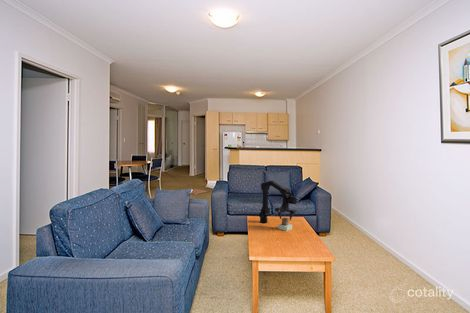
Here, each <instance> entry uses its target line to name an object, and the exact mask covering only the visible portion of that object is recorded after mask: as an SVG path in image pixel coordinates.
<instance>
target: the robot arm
mask: <svg viewBox="0 0 470 313" xmlns="http://www.w3.org/2000/svg"><path fill="white" fill-rule="evenodd" d="M260 187H261V188H260V189H261V191H262V206H261V209H260V212H259V213H258V217H259V223H260V224H267V223H268V217H269V214H270V213H271V207H269V202H268V201H269V190H270V187H272V188H274V189H276V190H277V191H279V192H280V194H281V195H280V197H281V200H282V202H281V205H280V206H277V207H275V208H274V211H275V212H276V213H277V214H278V216H279V219H280V220H282V214H283V213H286V212H288V213H289V221H292V218H293V216H294V215H295V214H296V213H297V210H296V209H290V207H289V206H290V204H291V205H297V203H298V200H297V198H296V196H293V193H291V190H290V189H289V188H288V187H284V186H282V185H280V184H279V183H277V182H276V181H274V180H268V181H266V182H262V183H260Z"/></svg>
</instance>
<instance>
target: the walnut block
mask: <svg viewBox="0 0 470 313" xmlns="http://www.w3.org/2000/svg"><path fill="white" fill-rule="evenodd" d="M289 221H290V217H289V218H288V217H285V216H284V217H281V224H282V225H285V226H287V225H289V224H290V223H289Z"/></svg>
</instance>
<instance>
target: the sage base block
mask: <svg viewBox="0 0 470 313" xmlns="http://www.w3.org/2000/svg"><path fill="white" fill-rule="evenodd" d="M277 229H278V230H281V231H286V232H288V231H291V230H292V229H293V224H290V223H289V225H287V226H285V225H282V223H280V224H278V225H277Z"/></svg>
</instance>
